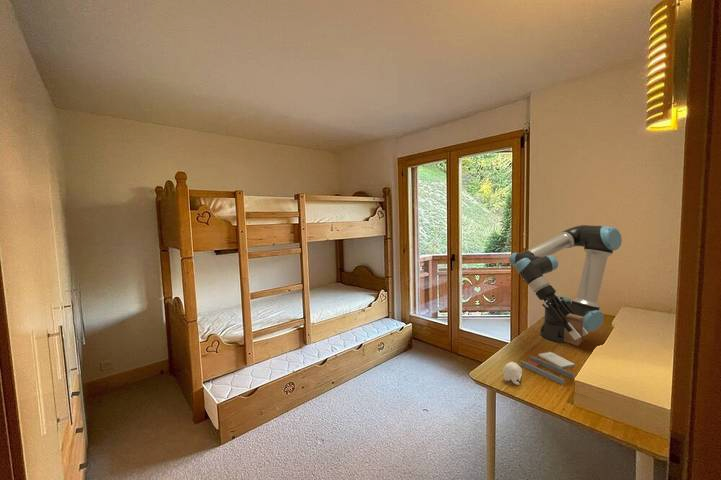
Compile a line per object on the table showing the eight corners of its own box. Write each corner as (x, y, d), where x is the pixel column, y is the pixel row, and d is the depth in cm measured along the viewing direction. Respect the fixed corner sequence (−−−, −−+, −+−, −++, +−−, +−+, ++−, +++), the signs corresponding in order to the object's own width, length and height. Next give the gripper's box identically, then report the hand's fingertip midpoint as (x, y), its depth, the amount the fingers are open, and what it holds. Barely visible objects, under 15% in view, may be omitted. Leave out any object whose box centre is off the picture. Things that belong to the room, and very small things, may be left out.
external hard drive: (561, 370, 134) (538, 356, 145) (575, 367, 136) (551, 354, 148) (561, 366, 133) (538, 353, 145) (575, 364, 136) (551, 351, 147)
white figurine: (502, 362, 123) (511, 354, 132) (500, 381, 123) (510, 373, 132) (518, 367, 119) (527, 359, 127) (517, 388, 119) (525, 378, 127)
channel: (531, 359, 142) (531, 355, 141) (573, 378, 126) (574, 373, 126) (520, 365, 137) (520, 361, 136) (562, 384, 121) (563, 380, 121)
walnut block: (567, 337, 127) (569, 313, 126) (581, 342, 123) (583, 316, 122) (563, 341, 124) (565, 316, 123) (577, 345, 120) (579, 319, 119)
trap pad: (530, 361, 140) (530, 360, 140) (539, 365, 137) (539, 364, 136) (523, 364, 137) (523, 363, 137) (532, 368, 134) (532, 367, 134)
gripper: (546, 290, 140) (584, 335, 128) (524, 296, 130) (562, 345, 118) (559, 281, 135) (599, 327, 123) (537, 287, 125) (578, 338, 113)
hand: (581, 336), depth 120 cm, fingers closed on walnut block, 6 cm apart
